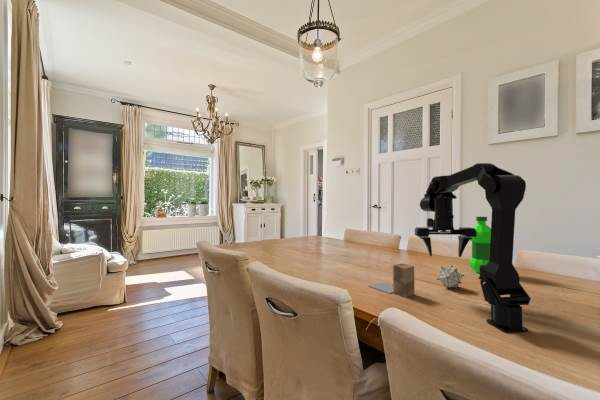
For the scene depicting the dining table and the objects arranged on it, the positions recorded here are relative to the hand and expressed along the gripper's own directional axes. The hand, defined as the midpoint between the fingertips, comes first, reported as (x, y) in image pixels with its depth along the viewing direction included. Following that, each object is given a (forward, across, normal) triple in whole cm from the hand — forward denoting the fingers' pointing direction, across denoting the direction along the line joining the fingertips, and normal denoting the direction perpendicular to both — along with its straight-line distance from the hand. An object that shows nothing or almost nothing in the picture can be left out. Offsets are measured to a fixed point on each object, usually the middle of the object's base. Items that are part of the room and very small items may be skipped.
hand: (445, 256), depth 96 cm
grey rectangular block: (+13, +14, +2) cm, 19 cm away
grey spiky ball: (+13, -4, -8) cm, 16 cm away
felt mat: (+13, +20, -4) cm, 24 cm away
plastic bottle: (+13, -23, -34) cm, 43 cm away
